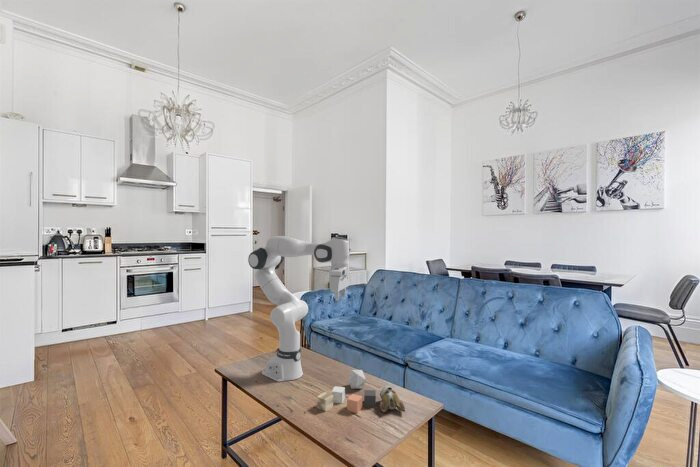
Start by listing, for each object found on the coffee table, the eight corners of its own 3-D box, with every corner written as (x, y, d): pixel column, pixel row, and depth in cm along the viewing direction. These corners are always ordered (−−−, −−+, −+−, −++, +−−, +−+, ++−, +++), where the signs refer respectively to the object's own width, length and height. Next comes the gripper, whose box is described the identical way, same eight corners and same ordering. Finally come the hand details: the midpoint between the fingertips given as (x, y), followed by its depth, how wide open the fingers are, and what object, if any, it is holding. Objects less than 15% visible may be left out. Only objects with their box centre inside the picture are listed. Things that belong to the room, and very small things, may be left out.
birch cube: (317, 407, 138) (317, 396, 138) (324, 403, 142) (324, 392, 142) (325, 411, 135) (325, 400, 135) (333, 407, 139) (333, 395, 139)
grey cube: (331, 402, 143) (331, 391, 143) (334, 396, 148) (334, 386, 148) (342, 403, 142) (342, 392, 142) (344, 398, 147) (344, 387, 147)
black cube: (364, 406, 140) (364, 395, 140) (364, 400, 145) (364, 389, 145) (375, 407, 139) (375, 395, 139) (375, 401, 144) (375, 390, 144)
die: (359, 395, 151) (370, 375, 154) (343, 384, 153) (354, 365, 156) (358, 393, 159) (369, 374, 162) (343, 382, 161) (354, 364, 164)
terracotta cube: (347, 410, 137) (347, 398, 137) (352, 405, 141) (352, 393, 141) (357, 413, 134) (357, 401, 134) (362, 407, 139) (362, 396, 139)
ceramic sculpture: (398, 379, 147) (406, 397, 132) (397, 397, 148) (406, 417, 133) (375, 380, 146) (381, 398, 131) (375, 398, 147) (381, 419, 132)
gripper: (340, 267, 165) (340, 294, 165) (327, 272, 145) (327, 302, 145) (352, 268, 163) (352, 295, 163) (340, 272, 143) (340, 303, 143)
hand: (340, 298), depth 154 cm, fingers open, 8 cm apart
